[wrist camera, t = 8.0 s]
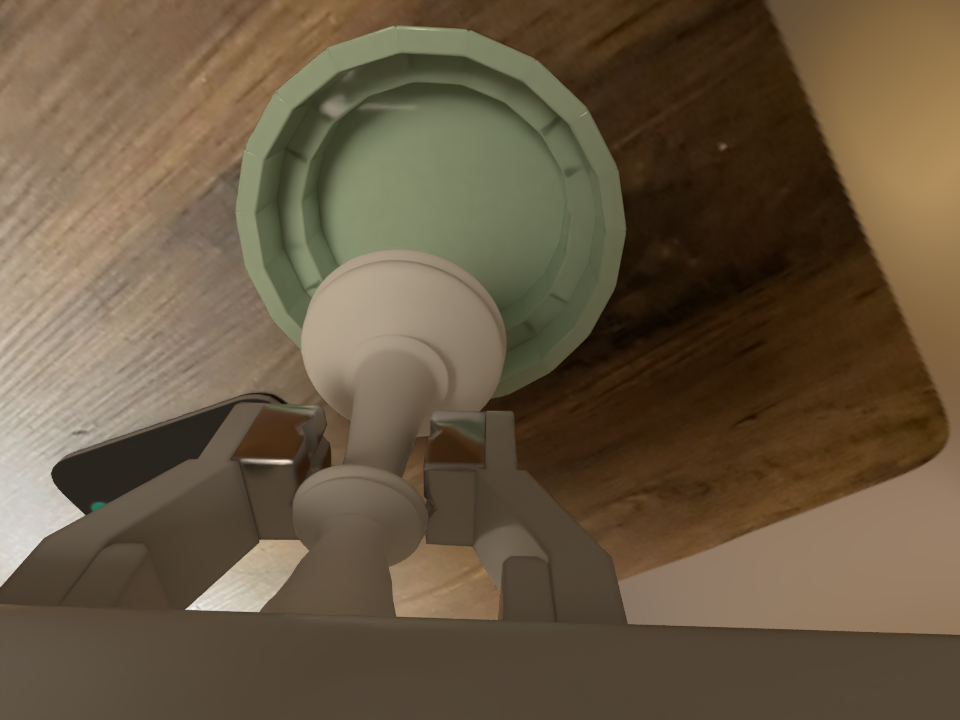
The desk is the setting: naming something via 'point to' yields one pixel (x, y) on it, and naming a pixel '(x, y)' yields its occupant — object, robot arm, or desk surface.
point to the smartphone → (140, 455)
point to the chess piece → (383, 416)
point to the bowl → (437, 184)
